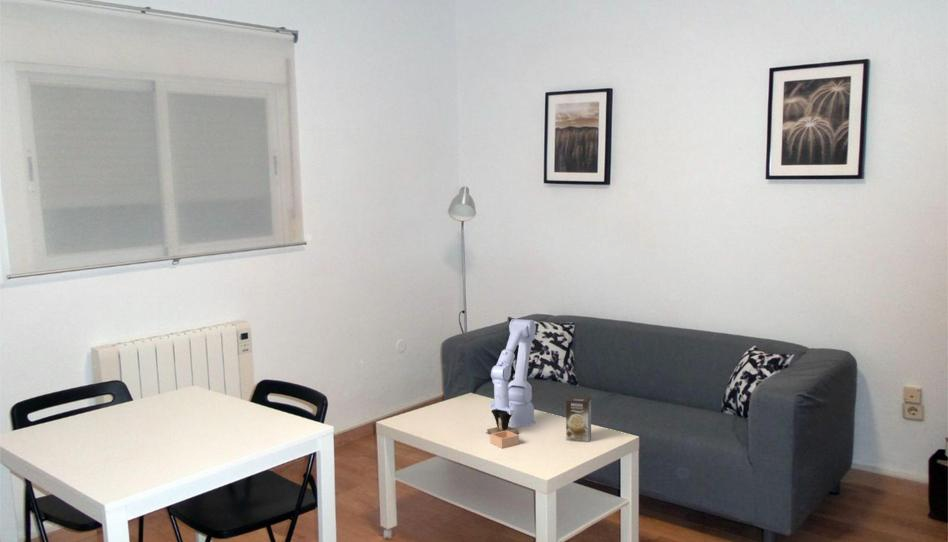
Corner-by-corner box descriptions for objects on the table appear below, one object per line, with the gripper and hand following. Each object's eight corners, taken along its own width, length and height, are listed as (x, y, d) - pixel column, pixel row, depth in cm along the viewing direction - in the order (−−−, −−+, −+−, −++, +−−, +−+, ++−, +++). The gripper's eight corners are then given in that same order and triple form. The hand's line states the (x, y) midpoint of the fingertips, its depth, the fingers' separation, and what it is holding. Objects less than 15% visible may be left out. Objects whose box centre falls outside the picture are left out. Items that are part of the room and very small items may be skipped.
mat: (505, 428, 316) (505, 428, 316) (519, 435, 308) (519, 434, 308) (485, 433, 311) (485, 432, 311) (499, 439, 302) (499, 438, 302)
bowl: (507, 440, 302) (507, 430, 302) (519, 445, 295) (518, 435, 295) (490, 444, 298) (490, 434, 297) (502, 449, 291) (501, 439, 291)
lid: (505, 427, 315) (505, 413, 315) (518, 432, 308) (517, 418, 307) (487, 431, 311) (486, 417, 310) (499, 437, 303) (499, 422, 303)
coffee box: (565, 440, 299) (564, 400, 298) (569, 435, 305) (568, 396, 304) (589, 442, 296) (588, 401, 295) (592, 437, 302) (591, 397, 301)
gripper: (483, 392, 312) (484, 425, 313) (503, 400, 299) (504, 434, 301) (497, 390, 315) (498, 422, 317) (518, 397, 303) (519, 430, 305)
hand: (502, 427), depth 309 cm, fingers closed on lid, 3 cm apart
